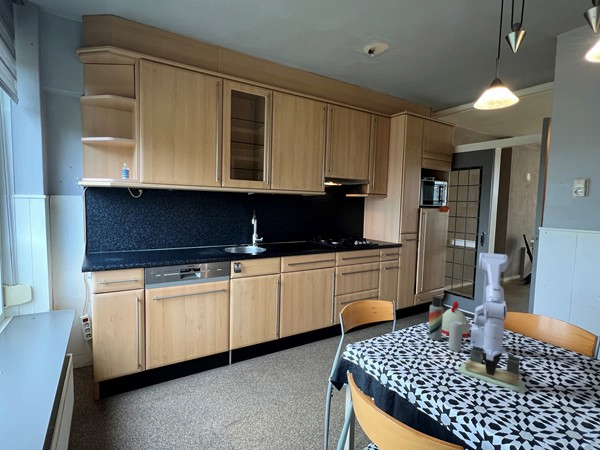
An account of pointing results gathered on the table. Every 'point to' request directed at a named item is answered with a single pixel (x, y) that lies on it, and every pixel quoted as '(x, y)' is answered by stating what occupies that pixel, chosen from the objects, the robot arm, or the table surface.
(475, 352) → the cradle stands
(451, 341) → the beverage can
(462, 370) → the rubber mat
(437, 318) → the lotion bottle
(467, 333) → the kitchen timer
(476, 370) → the oak rail
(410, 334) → the table surface
